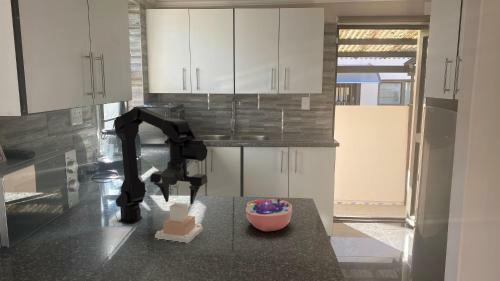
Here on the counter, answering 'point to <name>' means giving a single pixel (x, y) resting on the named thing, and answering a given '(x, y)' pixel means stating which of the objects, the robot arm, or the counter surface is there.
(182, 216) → the cream brick
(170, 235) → the base plate
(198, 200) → the counter surface
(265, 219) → the cell model
